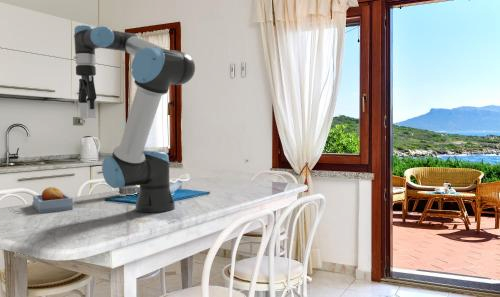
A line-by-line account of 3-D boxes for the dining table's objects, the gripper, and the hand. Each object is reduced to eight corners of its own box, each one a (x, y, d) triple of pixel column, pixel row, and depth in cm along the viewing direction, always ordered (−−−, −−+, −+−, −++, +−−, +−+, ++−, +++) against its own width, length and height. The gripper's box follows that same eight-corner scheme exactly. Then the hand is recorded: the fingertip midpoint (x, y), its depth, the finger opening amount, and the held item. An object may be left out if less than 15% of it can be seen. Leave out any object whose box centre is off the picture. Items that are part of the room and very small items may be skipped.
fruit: (48, 198, 188) (55, 182, 187) (61, 208, 186) (68, 192, 185) (33, 201, 181) (40, 185, 179) (47, 212, 179) (54, 196, 177)
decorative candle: (114, 196, 211) (112, 143, 209) (125, 193, 220) (123, 143, 218) (130, 196, 208) (128, 143, 207) (141, 193, 217) (139, 142, 215)
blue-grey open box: (62, 202, 197) (61, 192, 196) (72, 209, 178) (72, 198, 178) (32, 205, 190) (32, 194, 190) (40, 213, 172) (39, 201, 171)
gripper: (69, 68, 186) (71, 118, 188) (83, 60, 165) (85, 117, 167) (87, 69, 190) (89, 118, 192) (103, 62, 170) (105, 117, 171)
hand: (87, 118), depth 179 cm, fingers open, 13 cm apart
